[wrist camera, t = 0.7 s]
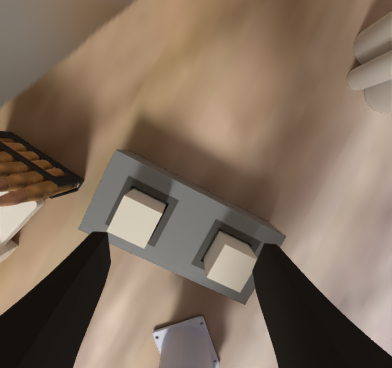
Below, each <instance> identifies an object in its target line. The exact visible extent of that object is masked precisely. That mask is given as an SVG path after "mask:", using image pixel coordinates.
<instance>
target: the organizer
mask: <svg viewBox="0 0 392 368" xmlns="http://www.w3.org/2000/svg"><path fill="white" fill-rule="evenodd" d="M9 192H12V191H6V192H0V196H2V195H4V194H6V193H9ZM43 204H44V200H43V199H41V200H38V201H29V202H25V203H20V204H17V205H12V206H4V207H0V262H1V261H3V260H5V259H6V258H7V257H8V256H9V255H10V254H11V253H12V252H13V251H14V250H15V249H16V248H17V247H18V245H17V244H16V243H14V242H13V241H12V240H10V239H11V238H12V237H13V236H14V235H15V234H16V233H17V232H18V231H19V230H20V229H21V228H22V227H23V226H24V225H25V223H26V222H27V221H28V220H29V219H30V218H31V217H32V216H33V215H34V214H35V213H36V212H37V211H38V210H39V209H40V208H41V207H42V205H43Z"/></svg>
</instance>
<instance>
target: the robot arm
mask: <svg viewBox="0 0 392 368" xmlns="http://www.w3.org/2000/svg"><path fill="white" fill-rule="evenodd" d="M110 265H111V259H110V249H109V239H108V232H98V231H93V232H92V233H90V234H89V235H88V236H87V237H86V239H85V240H84V241H83V242H82V243H81V244H80V245H79V246H78V247H77V248H76V249H75V250H74V251H73V252H72V253H71V254H70V255H69V256H68V257H67V258H66V259H65V260H63V261H62V262H61V263H60V264H59V265H58V266H57V267H56V268H55V269H54V270H53V271H52V272H51V273H50V274H49V275H48V276H46V277H45V278H44V279H43V280H42V281H41V282H40V283H39V284H37V285H36V286H35V287H34V288H33V289H32V290H31V291H29V292H28V293H27V294H26V295H25V296H24V297H23V298H21V299H20V300H19V301H18V302H17V303H15V304H14V305H13V306H12V307H11V308H9V309H8V310H7V311H6V312H4V313H3V314H2V315H1V316H0V368H73V366H74V363H75V360H76V357H77V354H78V351H79V348H80V346H81V343H82V340H83V338H84V336H85V333H86V331H87V328H88V326H89V323H90V321H91V318H92V316H93V313H94V311H95V308H96V306H97V303H98V301H99V298H100V296H101V293H102V291H103V288H104V286H105V282H106V279H107V276H108V272H109V268H110ZM252 273H253V279H254V284H255V289H256V293H257V297H258V300H259V303H260V306H261V310H262V313H263V316H264V319H265V322H266V325H267V329H268V332H269V335H270V338H271V341H272V344H273V348H274V351H275V355H276V358H277V363H278V367H279V368H392V356H391V355H389V354H388V353H387V352H386V351H384V350H383V349H382V348H381V347H380V346H378V345H377V344H376V343H375V342H374V341H373V340H371V339H370V338H369V337H368V336H367V335H366V334H365V333H363V332H362V331H361V330H360V329H359V328H358V327H357V326H356V325H354V324H353V323H352V322H351V321H350V320H349V319H348V318H347V317H346V316H345V315H344V314H342V313H341V312H340V311H339V310H338V309H337V308H336V307H335V306H334V305H333V304H332V303H331V302H330V301H329V300H328V299H327V298H326V297H325V296H324V295H323V294H322V293H321V292H320V291H319V290H318V289H317V288H316V287H315V286H314V284H313V283H312V282H311V281H310V280H309V279H308V278H307V277H306V276H305V275H304V274H303V273H302V272H301V271H300V269H299V268H298V267H297V266H296V265H295V264H294V263H293V262H292V261H291V259H290V258H289V257H288V256H287V255H286V254H285V253H284V252H283V251H282V250H281V248H280V247H279V246H278V245H277V244H269V243H264V245H263V247H262V249H261V251H260V254H259V256H258V258H257V261H256V263H255V265H254V267H253V270H252ZM200 322H203V323H200ZM156 336H158V337H156ZM153 338H154V340H155V343H156V345H157V348H158V350H159V353H160V363H159V368H219V367H220V364H219V361H218V358H217V355H216V352H215V349H214V346H213V343H212V341H211V338H210V335H209V332H208V329H207V326H206V323H205V320H204V318H203V316H198V317H195V318H192V319H189V320H186V321H182V322H179V323H176V324H173V325H170V326H167V327H163V328H160V329H157V330H154V331H153Z"/></svg>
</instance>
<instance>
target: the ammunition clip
mask: <svg viewBox="0 0 392 368" xmlns="http://www.w3.org/2000/svg"><path fill="white" fill-rule="evenodd" d="M83 182H84V180H83V179H82V178H80V177H79V176H77V175H76V174H74V173H73V172H71V171H70V170H68V169H67V168H65V167H64V166H62V165H61V164H59V163H58V162H56V161H55V160H53V159H52V158H50V157H48V156H47V155H45V154H44V153H42V152H41V151H39V150H38V149H36V148H35V147H33V146H32V145H30V144H29V143H27V142H26V141H24V140H23V139H21V138H20V137H18V136H17V135H15V134H14V133H12V132H6V131H0V192H6V191H12V192H9V193H6V194H4V195H2V196H0V207H4V206H12V205H17V204H20V203H25V202H29V201H38V200H41V199H44V198H47V197H49V198H51V199H52V198H55V197H59V196H62V195H66V194H69V193H72V192H76V191H78V189H79V188H80V186H81V185H82V183H83Z"/></svg>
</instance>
